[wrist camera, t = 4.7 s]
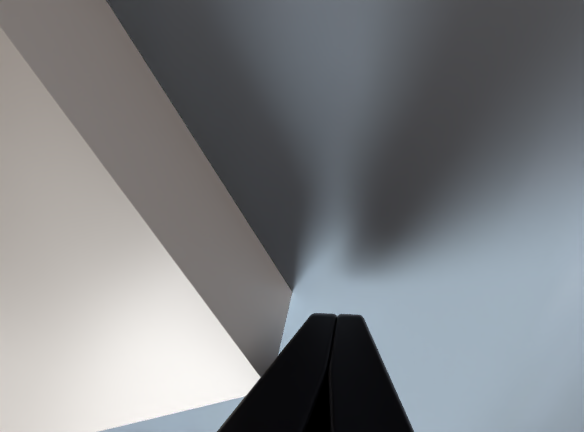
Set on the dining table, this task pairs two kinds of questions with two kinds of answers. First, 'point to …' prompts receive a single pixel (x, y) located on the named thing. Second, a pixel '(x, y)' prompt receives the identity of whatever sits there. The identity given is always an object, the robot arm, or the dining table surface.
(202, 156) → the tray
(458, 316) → the dining table surface
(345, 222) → the dining table surface
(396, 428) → the robot arm
